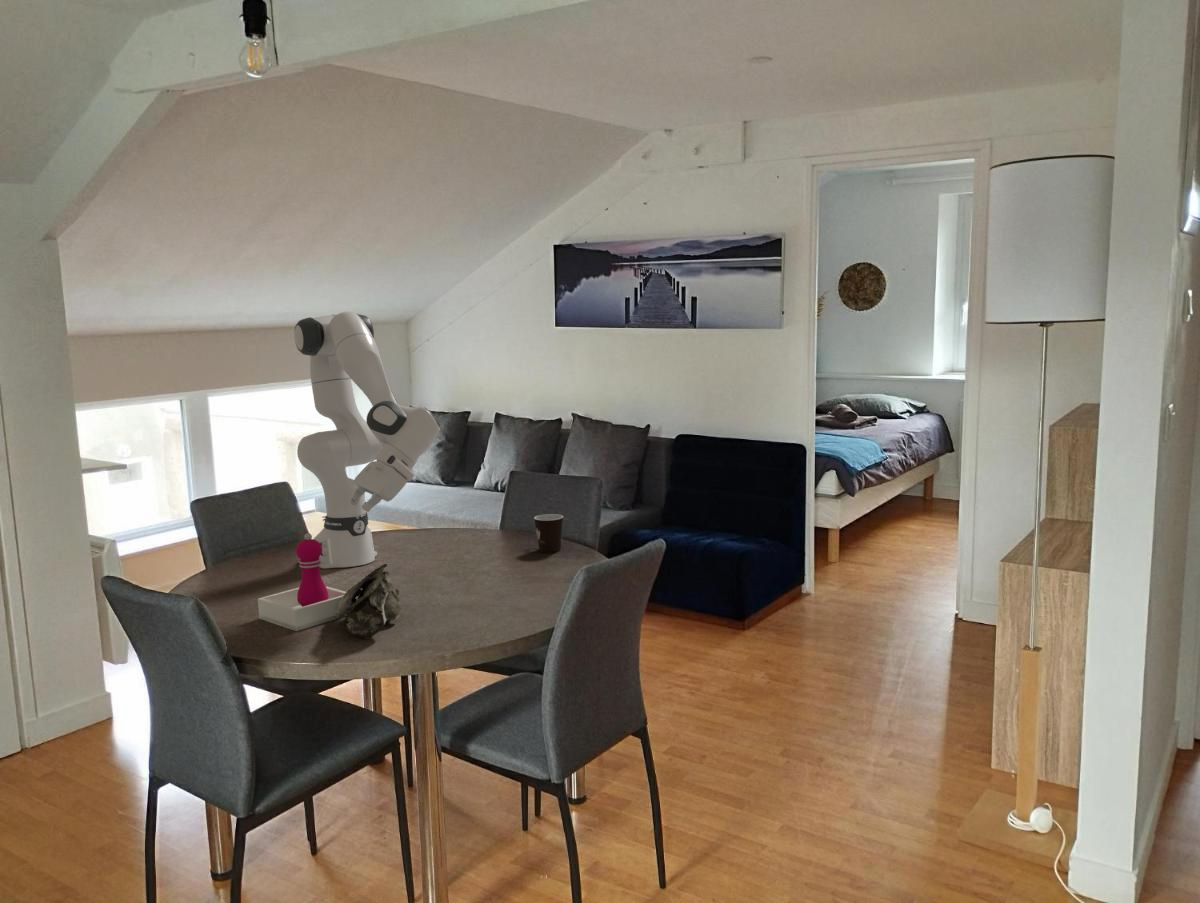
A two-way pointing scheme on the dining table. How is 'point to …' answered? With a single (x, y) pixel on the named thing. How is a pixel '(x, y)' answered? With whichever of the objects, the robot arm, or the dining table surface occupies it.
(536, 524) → the dark brown cup
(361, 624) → the hollow geode rock
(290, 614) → the tray
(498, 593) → the dining table surface
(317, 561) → the pepper mill
